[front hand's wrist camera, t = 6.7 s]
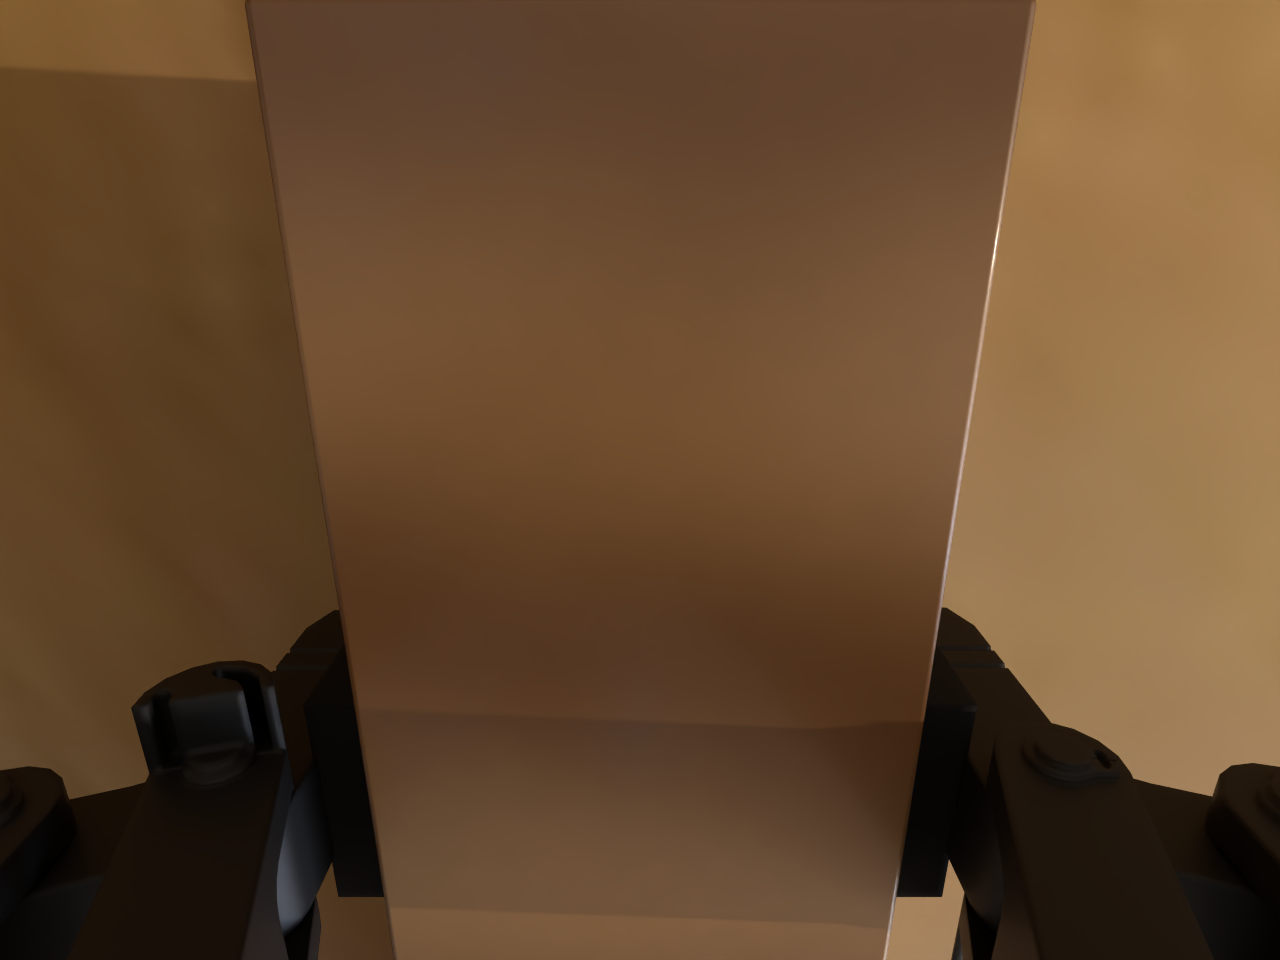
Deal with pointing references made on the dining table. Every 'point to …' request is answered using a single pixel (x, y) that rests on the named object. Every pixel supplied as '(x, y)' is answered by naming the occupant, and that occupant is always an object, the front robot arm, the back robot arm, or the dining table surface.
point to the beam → (640, 442)
